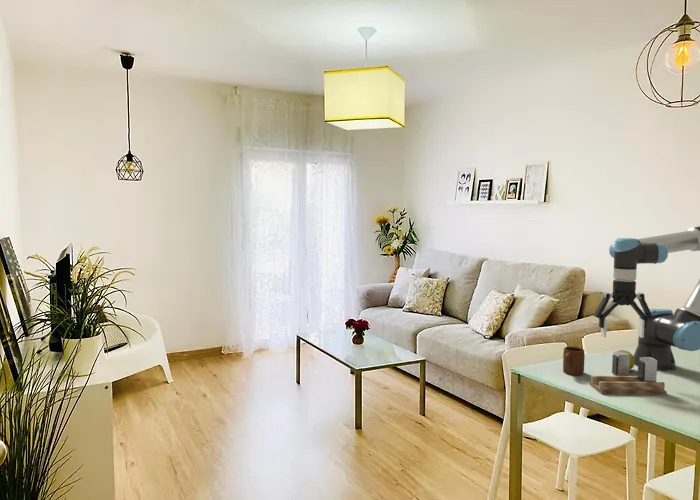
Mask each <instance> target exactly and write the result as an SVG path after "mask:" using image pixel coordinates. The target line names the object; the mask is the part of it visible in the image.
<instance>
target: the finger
mask: <svg viewBox="0 0 700 500" xmlns="http://www.w3.org/2000/svg"><path fill="white" fill-rule="evenodd" d="M657 374H658V370H657V360H656V359H654V358H652V357H640V360H638V366H637V376H638V380H639V382H657V377H658V376H657Z"/></svg>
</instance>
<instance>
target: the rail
mask: <svg viewBox="0 0 700 500" xmlns="http://www.w3.org/2000/svg"><path fill="white" fill-rule="evenodd" d="M590 379H591V380H589V384H590V386H591V387H592V388H593V389H594V390H596V391H597V392H598V393H600V395H631V396H632V395H633V396H634V395H643V396H644V395H647V396H649V395H651V396H652V395H653V396H656V395H657V396H658V395H659V396H667V393H668V392H667V390H665V389H666V388H665V385H666V384H665V383H666V382H664V381H656V382H639V380H638V375H635V376H634V375H629V376H613V375H591V376H590Z"/></svg>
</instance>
